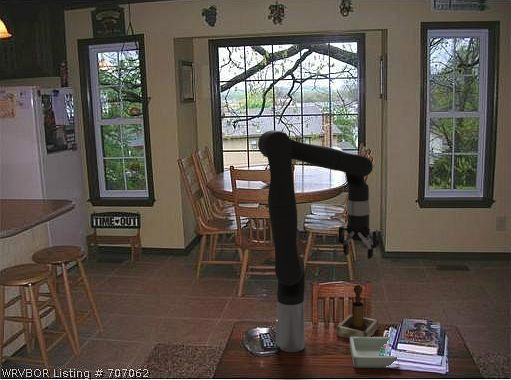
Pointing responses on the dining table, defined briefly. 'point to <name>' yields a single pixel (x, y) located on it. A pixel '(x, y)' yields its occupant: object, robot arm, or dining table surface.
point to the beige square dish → (348, 332)
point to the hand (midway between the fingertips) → (358, 256)
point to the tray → (369, 352)
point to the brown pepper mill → (358, 311)
